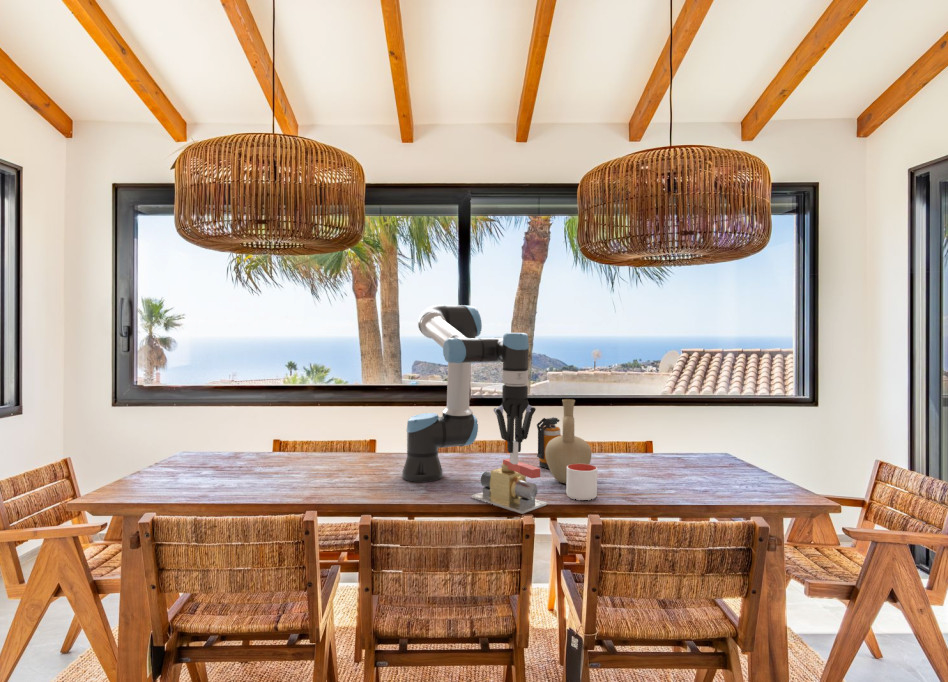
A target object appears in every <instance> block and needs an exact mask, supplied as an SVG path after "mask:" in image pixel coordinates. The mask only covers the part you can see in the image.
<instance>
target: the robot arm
mask: <svg viewBox="0 0 948 682" xmlns="http://www.w3.org/2000/svg"><path fill="white" fill-rule="evenodd" d="M418 317H419V318H418V321H417V327H418V329H419V331H420V333H421V334H422V335H423V336H424V337H426V338H429V339H432V340H433V341H435V343H437V344H438V345H439V346H440V347H441V348H442V352H443V353H442V355H443V357H444V360H445V362H447V383H446V384H447V385H446V387H447V388H446V389H447V390H446V407H445V408H444V409H443V410H442V415H441V416H439V414H438V413H436V412H430V413H429V412H428V413H427V412H426V413H425V412H424V413H419V414H415V415H413V416H411V417H409V418H408V420H407V424H406V459H405V461H404V462H405V463H404V466H403V469H402V472H401V474H402V479H403V480H404V481H409V482H415V483H428V482H435V481H437V480H440V479H442V478H443V477H444V476H443V475H444V471H443V468H442V464H441V461H440V457H439V449H440V448H441V449H442V448H452V447H460V448H461V447H464V446H470V445H472V444H473V443H474V442H475V441H476V439H477V436H478V432H479V423H478V418H477V417H476V416H475V415H474V411H473V410H472V409H471V408H470V390H471V388H470V387H471V384H470V383H471V363H502V387H501V388H502V392H501V393H502V394H501V396H502V400H501V403H500V405H499V406H498V407H495V408H493V412H494V414H495V415H496V418H497V423H498V427H499V429H498V430H499V433H500V437H501V439H502V440H504V441H506V442H507V444H506V445H507V449H506V451H507V453H509V459H510V463H512V464H518V461H519V453H520V452H521V450H522V443H523V441H524V440H527V439H528V436H529V431H530V427H531V422H532V419H533V415H534V413H535V412H536V409H537V408H536V407H534V406H532V405H530V404H529V401H528V397H529V396H528V394H529V393H528V391H529V386H528V382H529V349H530V348H529V347H530V345H529V335H528V334H527V333H526V332H505V333H504V334H503V337H500V336H497V337H478V336H480V335H481V333H482V329H483V328H482V327H483V324H482V319H481V318H482V317H481V314H480V313H479V311H478V309H477V308H476V307H475V306H473V305H465V304H464V305H463V304H461V305H460V304H453V305H452V304H451V305H450V304H445V305H444V304H436V305H432V306H429V307H427V308H426V309H424V310H423V311H422V312H421V313H420V315H419V316H418ZM504 412H505V414H506V421H505V416H504ZM524 413H525V414H524ZM523 415H524V416H523ZM523 418H524V419H523Z"/></svg>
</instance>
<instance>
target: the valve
mask: <svg viewBox="0 0 948 682" xmlns="http://www.w3.org/2000/svg"><path fill="white" fill-rule="evenodd" d="M526 477H527V476H524V475H522V474H520V473H518V472H515V471H513V472H505V471H502V470H501V467H500V468H495V469H492V470H490V471H483V473H482V475H481V476H480V484H481V485H482V486H483V487H482V492H478V493H475V494H472V495H470V498H471V497H473V498H476V499H480V500H483V501H486V502H489V503H491V504H490V505H492V504H493V506H495V507H499V508H503V509H504V510H505V509H506V510H508V511H511V512H515V513H518V514H520V515H521V514H522V515H523V514H526V513H529V512H531V511H534V510H537V509H540V508H543V507H545V506H547V504H548V503H547V502H546V501H543V500H539V499H536V497H537V494H538V486H537V484H536V483H532V482H529V481H527V479H526ZM473 498H472V499H473ZM476 499H475V500H476ZM483 501H482V502H483ZM486 502H485V503H486ZM489 503H488V504H489Z"/></svg>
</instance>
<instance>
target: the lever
mask: <svg viewBox="0 0 948 682" xmlns="http://www.w3.org/2000/svg"><path fill="white" fill-rule="evenodd" d="M500 468H501V470H502V471H505V472H513V471H515V472H518V473H520V474H522V475H524V476H526V477H527V478H530V479H537V478H541V468H540V467H537V466H535V465H531V464H527V463H525V462H522V461H519V460H518V464H512V463H510V458H505V459H504V458H503V459H502V462H501V467H500Z"/></svg>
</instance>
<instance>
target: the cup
mask: <svg viewBox="0 0 948 682" xmlns="http://www.w3.org/2000/svg"><path fill="white" fill-rule="evenodd" d="M565 484H566V487H565V488H566V491H565V492H566V496H567V497H568V498H569V499H572V500H575V499H576V500H575V501H580V500H588V501H592V500H595V499H596V497H597V495H598V467H597V466H595V465H592V464H570V465H568V466H567V480H566V483H565ZM591 499H592V500H591Z"/></svg>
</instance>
